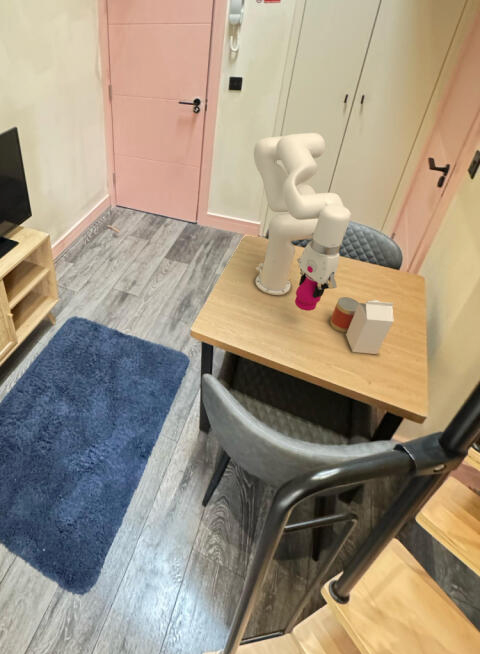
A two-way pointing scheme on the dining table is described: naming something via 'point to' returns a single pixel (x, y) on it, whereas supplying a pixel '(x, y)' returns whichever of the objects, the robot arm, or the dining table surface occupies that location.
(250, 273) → the dining table surface
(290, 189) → the robot arm
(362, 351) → the milk carton
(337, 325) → the sauce tin
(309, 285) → the pepper mill
